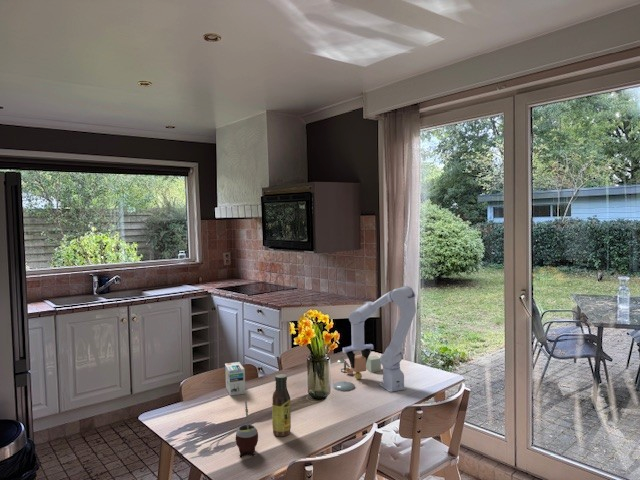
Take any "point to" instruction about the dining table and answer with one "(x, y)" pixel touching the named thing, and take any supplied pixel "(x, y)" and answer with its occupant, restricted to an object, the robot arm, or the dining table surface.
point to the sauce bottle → (281, 407)
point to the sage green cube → (373, 364)
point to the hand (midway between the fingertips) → (358, 366)
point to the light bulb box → (235, 378)
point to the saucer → (343, 386)
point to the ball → (358, 375)
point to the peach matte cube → (359, 364)
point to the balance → (345, 370)
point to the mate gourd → (246, 437)
